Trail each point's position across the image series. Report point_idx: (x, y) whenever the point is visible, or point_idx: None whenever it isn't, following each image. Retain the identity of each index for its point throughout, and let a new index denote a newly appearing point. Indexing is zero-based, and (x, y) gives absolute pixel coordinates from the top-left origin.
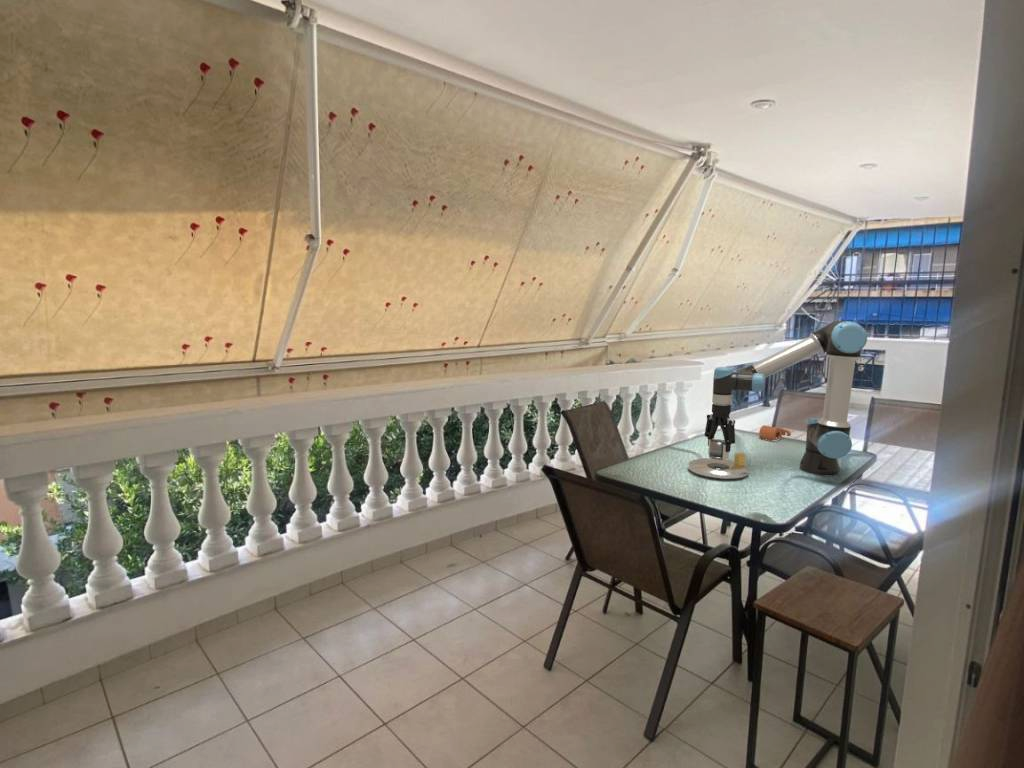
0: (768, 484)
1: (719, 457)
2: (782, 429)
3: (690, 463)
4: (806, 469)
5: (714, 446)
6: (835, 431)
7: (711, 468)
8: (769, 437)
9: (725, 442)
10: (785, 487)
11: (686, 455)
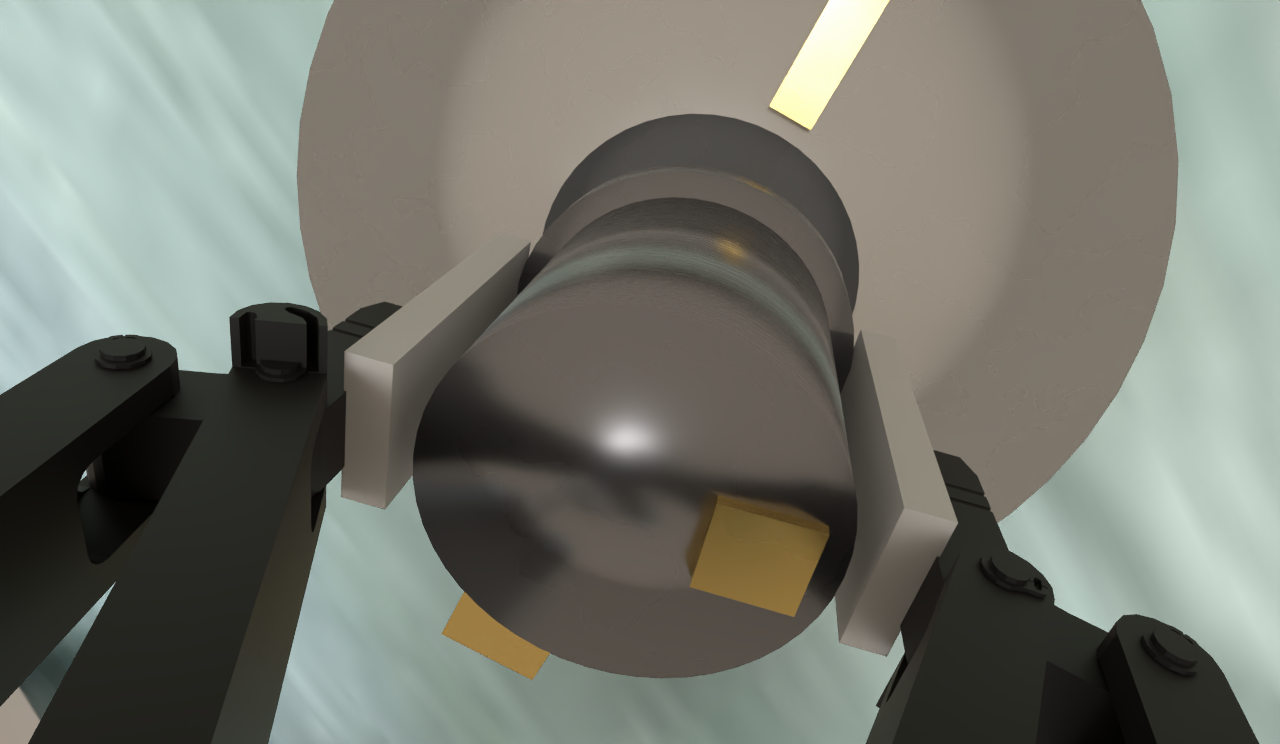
0: (158, 306)
1: (574, 226)
2: None
3: (1126, 61)
4: None
5: (642, 265)
6: None
7: (698, 96)
8: None
9: (300, 383)
10: (42, 341)
11: None
